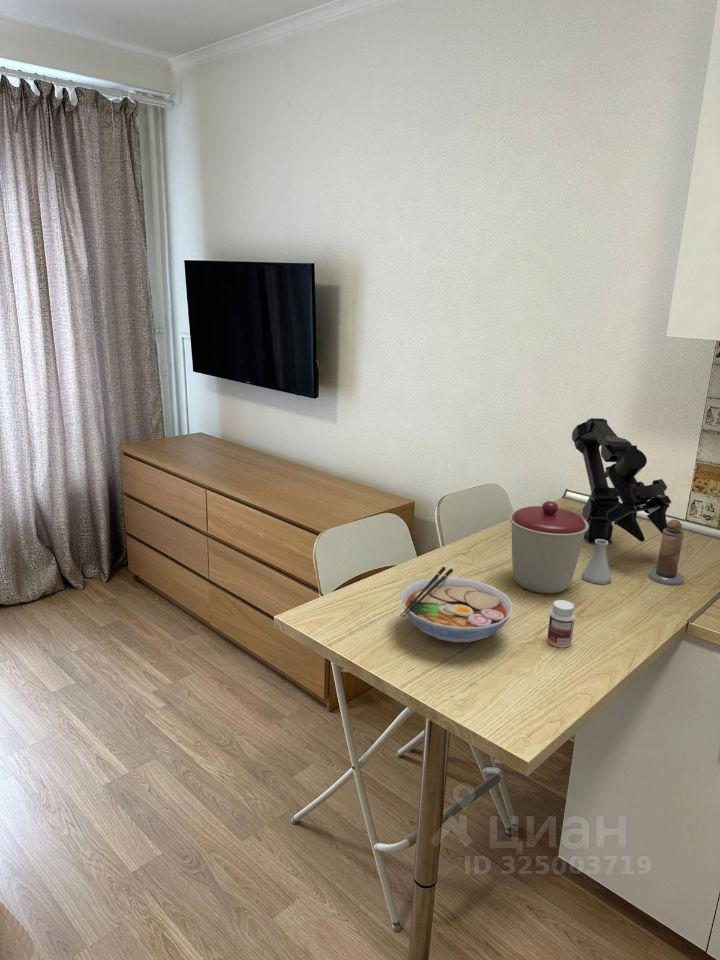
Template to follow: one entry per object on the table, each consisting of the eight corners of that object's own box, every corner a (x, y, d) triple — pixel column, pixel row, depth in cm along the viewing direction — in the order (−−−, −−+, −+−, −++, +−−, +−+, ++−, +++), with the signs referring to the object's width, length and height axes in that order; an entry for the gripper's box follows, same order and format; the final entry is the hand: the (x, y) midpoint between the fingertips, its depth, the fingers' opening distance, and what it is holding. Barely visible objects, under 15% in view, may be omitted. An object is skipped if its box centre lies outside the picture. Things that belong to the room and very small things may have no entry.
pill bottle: (552, 633, 138) (557, 596, 136) (574, 641, 135) (580, 604, 133) (542, 642, 134) (547, 604, 132) (565, 650, 132) (570, 612, 129)
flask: (606, 587, 160) (611, 549, 157) (576, 579, 164) (581, 541, 162) (615, 578, 166) (621, 540, 163) (586, 570, 170) (591, 533, 167)
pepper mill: (661, 578, 164) (670, 523, 160) (652, 570, 169) (661, 516, 164) (679, 578, 164) (689, 523, 160) (670, 570, 169) (680, 516, 165)
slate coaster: (657, 584, 163) (657, 581, 162) (643, 571, 170) (643, 567, 170) (689, 585, 163) (690, 581, 163) (673, 572, 170) (674, 568, 170)
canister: (550, 565, 172) (559, 487, 166) (596, 595, 156) (608, 510, 150) (488, 573, 166) (496, 493, 160) (530, 606, 150) (540, 517, 144)
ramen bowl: (487, 678, 121) (491, 638, 119) (376, 644, 132) (378, 606, 129) (525, 622, 142) (529, 587, 140) (426, 596, 153) (429, 563, 150)
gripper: (623, 473, 163) (654, 530, 157) (671, 465, 172) (702, 518, 166) (593, 494, 172) (622, 549, 166) (640, 485, 181) (669, 537, 175)
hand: (655, 538), depth 168 cm, fingers open, 9 cm apart
